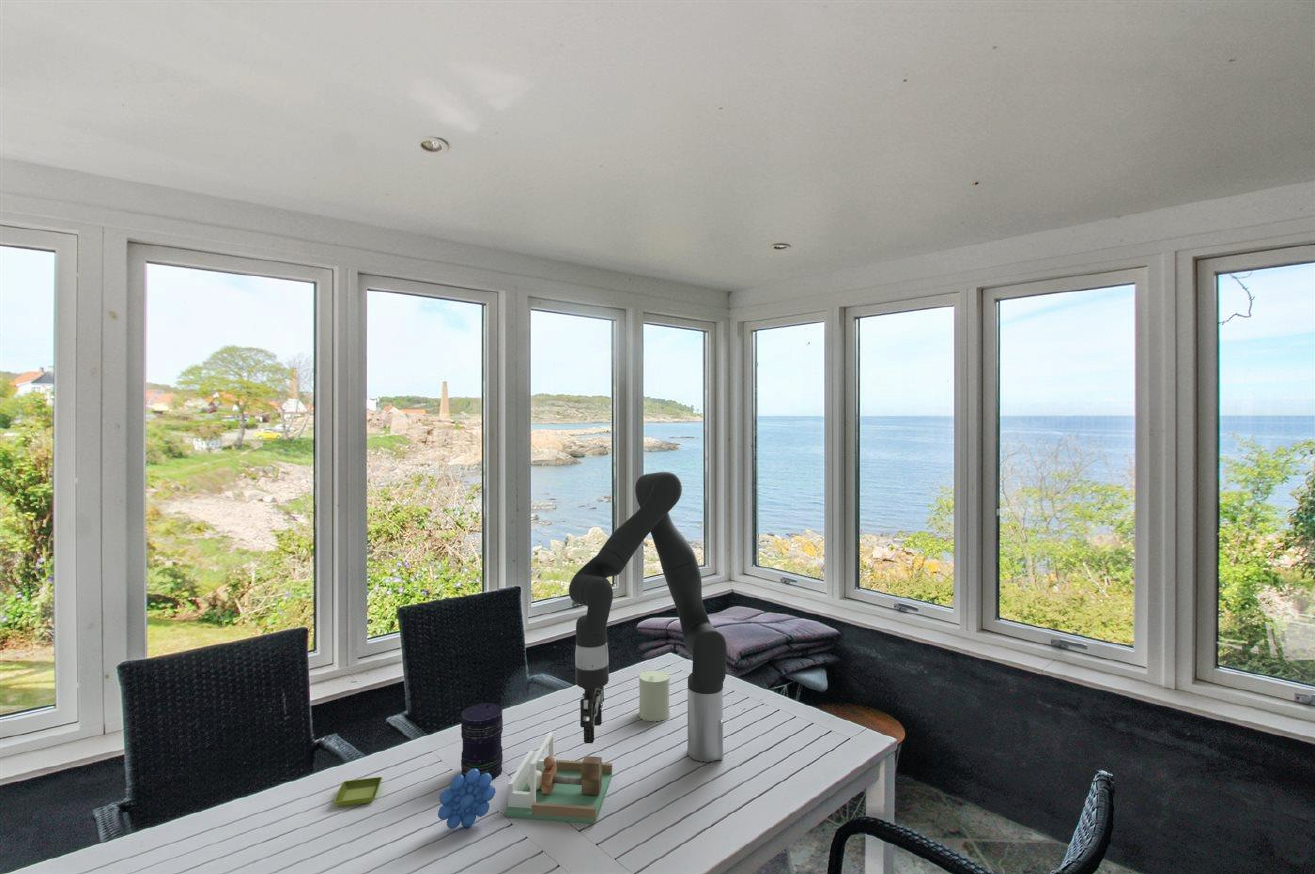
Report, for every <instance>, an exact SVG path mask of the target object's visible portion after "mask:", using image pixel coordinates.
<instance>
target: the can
mask: <svg viewBox="0 0 1315 874" xmlns="http://www.w3.org/2000/svg"><path fill="white" fill-rule="evenodd" d="M670 677H671V676H670V674H669V673H668V672H666V671H661V670H646V671H643V672H641V673H640V674H639V676H638V679H639V684H638V685H639V699H638V700H639V703H638V704H639V706H638V707H639V708H638V716H640V717H641V718H642V720H643V721H646V722H651V721H653V722H656V721H658V722H662V721H661V720H663V721H665V719H666V720H667V719H669V718H670V714H671V713H670ZM640 717H639V718H640ZM641 718H640V719H641ZM653 722H652V723H653Z"/></svg>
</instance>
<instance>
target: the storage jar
mask: <svg viewBox="0 0 1315 874" xmlns="http://www.w3.org/2000/svg"><path fill="white" fill-rule="evenodd" d="M503 723H504V721H503V707H502V706H501V705H499V704H495V703H492V702H491V703H487V702H486V703H478V704H473V705H470V706H468V707H467V708H465V709H464V710H463V711H461V726H460V729H461V733H460V734H461V735H460V736H461V739H462V751H461V755H460V756H461V760H460V764H461V765H460V766H461V775H463V776H464V777H466V774H467V772H468V771H469V770H471V769H474V768H475V769H478V770H479V772H480V776H481V775H482V774H484V773H489V774H490V775H491V776H492V781H494V780H496V779H497V778H498V776H499V775H500V776H501V775H502V772H503V756H504V755H503V746H502V734H503V729H504V728H503ZM480 776H479V777H480ZM500 776H499V777H500ZM496 777H497V778H496ZM495 778H496V779H495ZM493 779H494V780H493Z"/></svg>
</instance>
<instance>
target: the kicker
mask: <svg viewBox="0 0 1315 874" xmlns="http://www.w3.org/2000/svg"><path fill="white" fill-rule="evenodd" d="M544 759H545V760H544V766H545V769H544V771H543V772H542V794H551V792H552V790H553V788H554V786H555V784H556V783H557V784H572V785H582V794H592V795H599V794H600V791H601V788H602V763H603V757H602V756H601V757H600V756H590V755H589V756H587V755H585V756H584V757H583V759H582V760H581V761H582V777H572V776H557V763H555V761H556V760H555V757H554V758H553V757H552V756H549V755H548V756H546V757H545V758H544Z"/></svg>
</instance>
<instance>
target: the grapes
mask: <svg viewBox="0 0 1315 874" xmlns="http://www.w3.org/2000/svg"><path fill="white" fill-rule="evenodd" d="M479 776H480V772H479V770H478V769H475V768H474V769H471V770H469V771H468V772H467V774H466V777H464V776H463V775H462V774H456V775H455V776H454V777H452V779H451V781H450V783H449V787H450V788H449V787H448V788H445V789H444V790H443V791H441V792H440V795H439V796H438V797H439V800H438V801H439V803H440V804H441V806H440V807H439V810H438V811H437V817H438V818H439V819H440V820H442V821H445V820H446V826H447V828H448V829H451V830H453V829H456V828H458V826H460V825H461V826H462V827H463V828H469V827H472V826H473V825H474V823H475V822H476V819H477V817H479V818H481V817H484V816H485V815H486V814H488V811H489V809H490V803H489V802H490V801H491V800H493V799H494V797H495V794H496V788H495V787H494V785H491V783H492V782H493V780H492V776H491V775H490V774H489V773H484V774H482V775H481V776H480V777H479Z"/></svg>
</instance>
